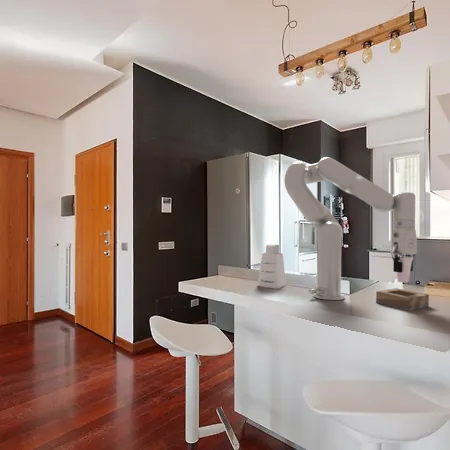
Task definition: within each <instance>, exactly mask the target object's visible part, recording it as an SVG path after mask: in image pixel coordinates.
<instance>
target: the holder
mask: <svg viewBox="0 0 450 450" xmlns="http://www.w3.org/2000/svg"><path fill="white" fill-rule="evenodd" d="M375 296H376V297H375V298H376V299H375V303H376V304H379V303H380V305H383V304H384V306H387V305H388V306H387V307H391V306H392V308H395V307H396V308H395V309H399V308H400V310H403V309H404V311H407V310H408V311H407V312H410V310H411V311H414V310H415V309H416V310H419V309H425V308H428V307H430V306H429V305H430V303H429V302H430V295H429V294H427V293H422V292H417V291H411V290H406V289H400V288H390V289H382V290H376V293H375ZM416 310H415V311H416Z"/></svg>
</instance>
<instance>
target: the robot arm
mask: <svg viewBox="0 0 450 450" xmlns="http://www.w3.org/2000/svg"><path fill="white" fill-rule="evenodd" d="M326 181H328V182H330V183H331V184H333V185H335V187H337V188H339V189H340V190H341V191H343V192H345V193H346V194H348V195H351V196H352V195H353V196H354V197H356V198H358V199H360V200H361V201H363V202H364V203H366V204H367V205H369V206H371V207H372V209H374V211H376V212H379V213H384V212H385V213H387V212H392V234H391V246H390V247H391V249H390V251H389V254H390V256H391V258H392V262H393V271H392V272H395V273H397V272H400V273H402V264H403V262H401V261H402V257H403V256H409V257H413V260H412V263H411V270H410V272H413V270H414V260H415V259H414V257H416V256H415V255H416V254H417V253H418V240H417V239H418V238H417V231H416V194H415V193H414V192H396V193H392V194H391V193H390V192H389V191H387V190H386V189H384V188H382V187H381V186H379V185H377V184H376V183H374V182H373V181H370V180H368V179H367V178H365V177H363V176H362V175H361V174H358V173H357V172H355V171H353V170H352V169H351V168H349V167H347V166H346V165H344V164H342V163H341V162H339V161H337V159H334V158H332V157H327V156H326V157H323V158H321V159H319V161H318V162H316V163H312V164H306V163H304V162H303V161H302V162H301V161H295V162H293V163H291V164H290V165H289V166H288V168H287V169H286V171H285V174H284V186H285V190H286V192H287V194H288V196H289V197H290V198H291V200H292V201H293V203H294V204H295V206H296V207H297V209H298V210H299V211H300V213H301V214H302V216H303V217H304V219H305V220H306V221H307V222H308V223H311V225H312V226H313V227H314V229H315V230H316V231H317V232H316V242H317V244H316V245H317V256H316V259H317V262H316V263H317V264H316V265H317V267H316V269H317V270H316V272H317V273H316V274H317V275H316V285H315V288H310V289H309V290H308V293H309V294H310V295H312V296H313V297H314V298H317V299H319V300H326V301H342V300H344V299H345V294H344V293H341V292H342V291H341V289H342V286H341V285H342V283H341V282H342V238H343V235H344V230H343V227H342V226H341V224H340V223H339V222H338V220H337V219H336V218H335V216H334V215H333V214H332V212H331V211H330V210H329V209H328V208H327V206H326V205H325V204H323V203H322V202H320V201H319V200H318V198H316V196H315V195H314V193H313V192H312V191H311V189H310V188H309V187H308V186H307V185H309V184H314V183H320V182H326ZM398 256H399V257H398Z"/></svg>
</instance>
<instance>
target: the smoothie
mask: <svg viewBox="0 0 450 450" xmlns="http://www.w3.org/2000/svg"><path fill="white" fill-rule="evenodd" d="M398 257H399V256H398ZM412 260H413V257H409V256H404V255H403V257H402V261H401V262H403V264H402V273H400V272H396V278H397V282H398V283H405V284H407V283H409V282H410V276H411V275H410V274H411V271H410V270H411V263H412ZM413 261H414V260H413Z"/></svg>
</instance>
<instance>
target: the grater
mask: <svg viewBox="0 0 450 450" xmlns="http://www.w3.org/2000/svg"><path fill="white" fill-rule="evenodd" d="M284 262H285V261H284V255H283V253H281V252H280V245H279V244H266V245H265V252H264V253H262V254H261V259H260V266H259V272H258V273H259V275H258V280H257V286H258V287H263V288H270V289H280V288H283V287H286V286H287V281H286V272H285V263H284Z"/></svg>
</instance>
